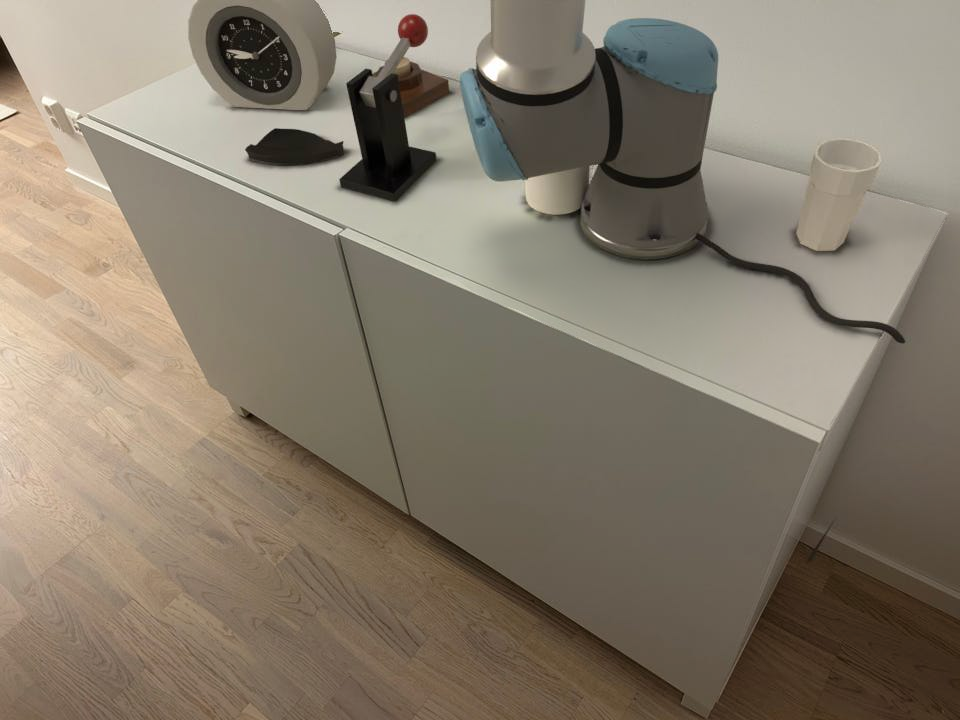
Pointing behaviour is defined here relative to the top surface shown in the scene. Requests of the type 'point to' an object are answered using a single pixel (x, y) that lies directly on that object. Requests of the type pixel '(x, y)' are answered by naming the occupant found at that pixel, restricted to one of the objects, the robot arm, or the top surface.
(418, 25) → the lever
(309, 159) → the curved wedge
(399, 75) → the button
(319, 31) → the alarm clock
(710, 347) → the top surface
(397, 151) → the bracket
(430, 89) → the button block
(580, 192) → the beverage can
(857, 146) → the cup
